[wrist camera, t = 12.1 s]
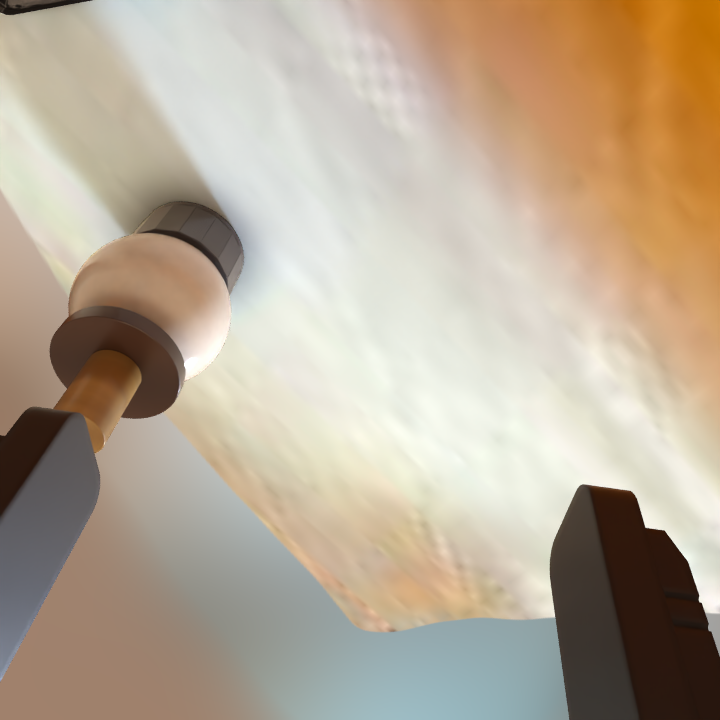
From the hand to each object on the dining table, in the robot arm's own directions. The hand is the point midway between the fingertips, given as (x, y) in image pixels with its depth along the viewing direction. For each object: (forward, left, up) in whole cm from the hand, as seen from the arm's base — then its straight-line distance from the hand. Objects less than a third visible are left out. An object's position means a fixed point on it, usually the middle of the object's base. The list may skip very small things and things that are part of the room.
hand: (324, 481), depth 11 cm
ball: (+14, -13, -23) cm, 30 cm away
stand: (+14, -13, -30) cm, 36 cm away
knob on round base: (+14, -13, -18) cm, 26 cm away
